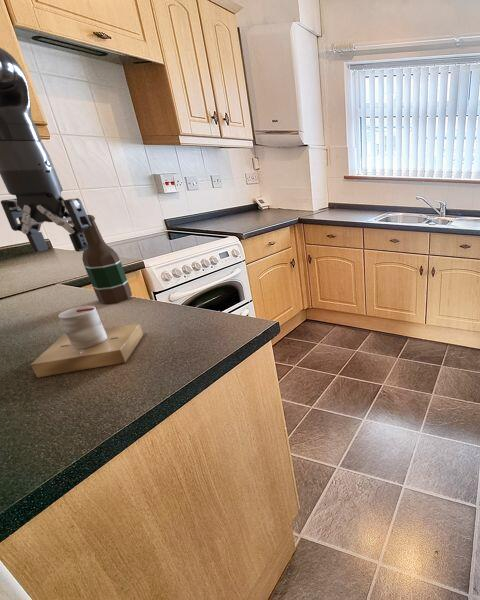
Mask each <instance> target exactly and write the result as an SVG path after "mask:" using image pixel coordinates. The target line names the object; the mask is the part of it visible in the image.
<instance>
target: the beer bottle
mask: <svg viewBox="0 0 480 600" xmlns="http://www.w3.org/2000/svg"><path fill="white" fill-rule="evenodd" d="M87 216H88V218H89V221H90V223H91V225H92V227H91V228H89V229H86V230H84V232H83V233H84V236H85V238H86V241H87V243H88V249H87V250H85V251H82V256H81V257H82V258H81V259H82V263H83V266H84V269H85V271H86V274H87V277H88V278H89V281H90V283H91V286H92V288H93V291H94V293H95V295H96V298H97V301H98V302H99V303H102V304H104V305H109V304H118V303H121V302H125V301H127V300H129V299H130V298H131V297H132V296H133V293H132V289H131V286H130V283H129V281H128V278H127V276H126V273H125V270H124V267H123V264H122V261H121V259H120V257H119V255H118V253H117V252H116V251H115V250H114V249H113V248H112V247H110V246H109V245H108V244H107V243H106V241H105V240H104V238H103V236H102V233H101V232H100V229H99V227H98V225H97V223H96V221H95V220H96V218H95V216H94V215H92V214H87ZM79 219H80V221H81V223H82V220H81V218H79Z"/></svg>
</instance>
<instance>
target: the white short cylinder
mask: <svg viewBox="0 0 480 600" xmlns="http://www.w3.org/2000/svg"><path fill="white" fill-rule="evenodd" d="M57 317H58V319H59V321H60V323H61V326H62V327H63V330H64V331H65V334H67V336H68V338H69V340H70V343H71V345H72V347H73V348H76V349H82V348H88V347H92V346H95V345H98V344H100V343H102V342H104V341H105V340H106V339H107V334H106V332H105V330H104V329H105V327H104V325H103V323H102V320H101V318H100V316H99V313H98V310H97V308H96V306H94V305H81V306H77V307H73V308H69V309H67V310H66V309H65V310H63V311H61V312H60V313H59V314H58V315H57Z"/></svg>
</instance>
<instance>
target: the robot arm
mask: <svg viewBox="0 0 480 600" xmlns="http://www.w3.org/2000/svg"><path fill="white" fill-rule="evenodd" d="M0 177H1V179H2V182H3V183H4V186H5V188H6V191H7V192H8V194H9V195H11V196H15V198H11V199H10V198H9V199H2V200H0V205H1V207H2V209H3V212H4V214H5V216H6V219H7V221H8V224H9V226H10V228H11V230H12V231H15V232H17V231H18V232H21V233H23V234H24V235H26V238H27V240H28V242H29V244H30V246H31V248H32V249H33V251H34V252H38V253H41V252H44V251H48V250H49V246H48V244H47V242H46V240H45V236H44V234H43V233H42V231H41V227H42V224H44V223H54V224H55V225H56V226H59V227H62V228H63V229H64V230H65V231H67V233H68V236H69V239H70V241H71V243H72V246H73V249H74V251H75V252H78V253H79V252H82V253H83V252H84V251H85V250H87V249H88V243H87V241H86V238H85V236H84V233H83V232H84V230H86V229H89V228H91V227H92V225H91V223H90V221H89V218H88V216H87V215H88V214H87V212H86V209H85V207H84V205H83V203H82V200H81V199H79V198H78V197H77V198H76V197H75V198H68V199H65V198H63V195H62V192H63V190H64V189H63V186H62V184H61V182H60V179H59V177H58V174H57V170H56V168H55V167H54V164H53V162H52V158H51V156H50V154H49V152H48V150H47V149H46V147H45V145H44V143H43V141H42V139H41V136H40V133H39V130H38V129H37V126H36V124H35V120H34V119H33V117H32V104H31V97H30V89H29V85H28V80H27V77H26V74H25V72H24V70H23V69H22V67H21V65H20V64H19V62H18V61H17V60H16V58H15V57H14V56H13V55H12V54H11V53H9V52H8V51H7V50H6V49H4V48H2V47H0ZM79 218H81V220H82V223H81V221H80V219H79ZM17 219H18V220H17ZM18 221H19V222H18Z"/></svg>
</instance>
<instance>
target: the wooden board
mask: <svg viewBox="0 0 480 600" xmlns="http://www.w3.org/2000/svg"><path fill="white" fill-rule="evenodd" d="M104 330H105V332H106V334H107V339H106V340H105V341H104V342H102V343H100V344H98V345H95V346H92V347H88V348H82V349H76V348H73V347H72V345H71V343H70V340H69V338H68V336H67V334H66V333H64V334H62V335H61V336H59V338H58V339H56V340H55V341H54V342H53V343H52V344H51V345H50V346H49V347H48V348H47V349H46V350H44V352H42V353H41V354H40V355H39V356H38V357H37V358H36V359H34V361H33V362H31V363H30V366H31V368H32V370H33V372H34V374H35V376H36V377H37V378H42V377H49V376H54V375H61V374H66V373H71V372H77V371H83V370H90V369H95V368H100V367H107V366H113V365H117V364H118V365H119V364H124V363H126V362H127V361H128V359H129V358H130V356H131V355H132V353H133V352H134V350H135V349H136V347H137V346H138V344H139V342H140V341H141V340H142V338H143V336H144V333H143V330H142V327H141V325H140V323H134V324H127V325H120V326H114V327H107V328H104Z"/></svg>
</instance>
